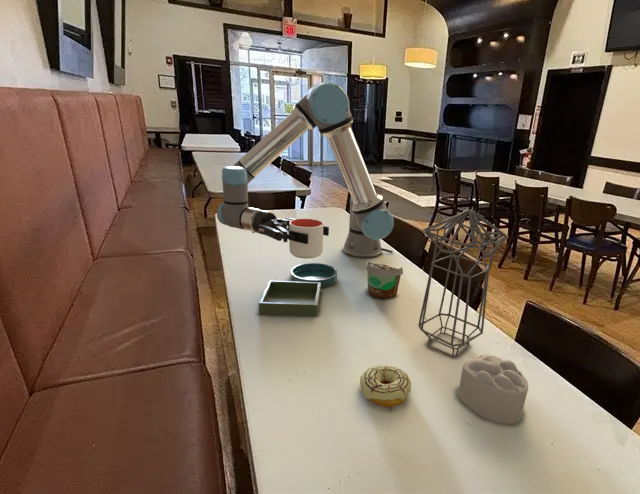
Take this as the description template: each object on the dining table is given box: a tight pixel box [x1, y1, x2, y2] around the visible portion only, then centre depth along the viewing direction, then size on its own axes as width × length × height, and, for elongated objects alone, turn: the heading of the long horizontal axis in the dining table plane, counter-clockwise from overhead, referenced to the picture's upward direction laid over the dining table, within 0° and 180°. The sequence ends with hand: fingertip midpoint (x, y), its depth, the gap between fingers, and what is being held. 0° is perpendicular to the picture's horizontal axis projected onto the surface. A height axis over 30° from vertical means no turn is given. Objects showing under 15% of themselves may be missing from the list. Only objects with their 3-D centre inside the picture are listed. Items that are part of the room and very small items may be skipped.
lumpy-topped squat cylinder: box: [457, 354, 529, 425], centre depth 84 cm, size 10×13×9 cm
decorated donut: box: [359, 364, 412, 408], centre depth 85 cm, size 10×11×4 cm
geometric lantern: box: [417, 209, 510, 358], centre depth 99 cm, size 16×16×35 cm
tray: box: [258, 280, 322, 317], centre depth 120 cm, size 16×16×4 cm
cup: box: [288, 218, 324, 260], centre depth 125 cm, size 10×10×10 cm
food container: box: [364, 259, 404, 300], centre depth 128 cm, size 12×6×10 cm, turn 68°
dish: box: [289, 262, 338, 288], centre depth 137 cm, size 15×15×3 cm
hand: (318, 235), depth 123 cm, fingers closed on cup, 10 cm apart
